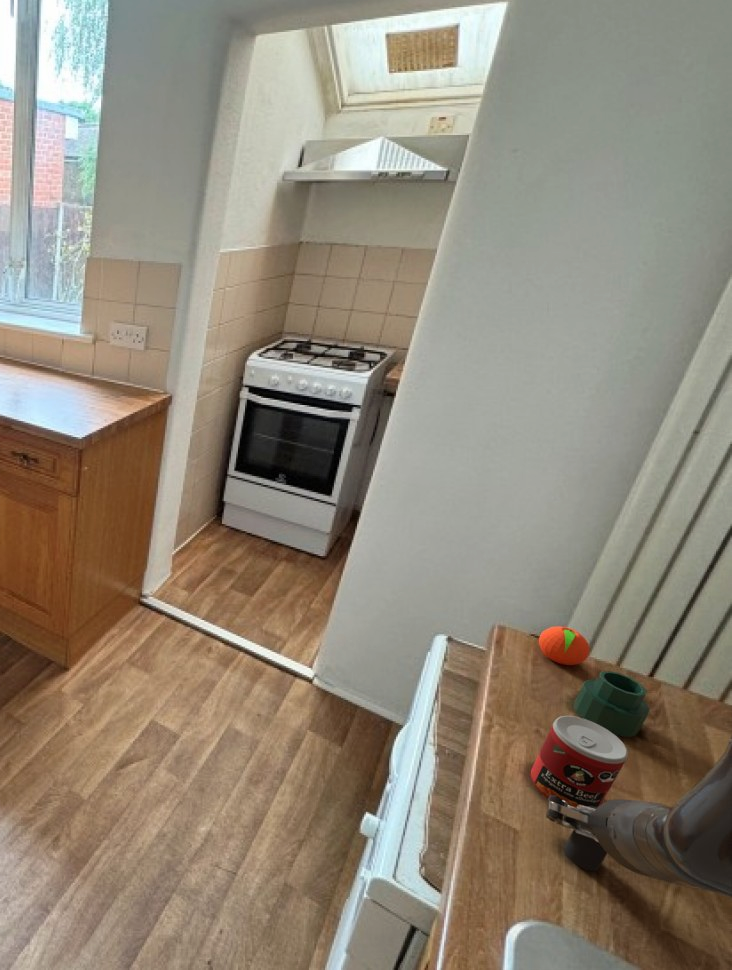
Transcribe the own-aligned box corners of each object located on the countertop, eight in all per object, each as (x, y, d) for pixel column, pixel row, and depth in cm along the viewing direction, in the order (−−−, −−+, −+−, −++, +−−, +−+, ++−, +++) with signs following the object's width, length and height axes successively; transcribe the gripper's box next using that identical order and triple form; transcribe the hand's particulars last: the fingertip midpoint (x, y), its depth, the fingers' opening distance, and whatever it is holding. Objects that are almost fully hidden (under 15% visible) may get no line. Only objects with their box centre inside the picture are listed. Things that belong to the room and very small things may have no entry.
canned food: (526, 792, 89) (552, 737, 84) (531, 759, 94) (556, 706, 90) (597, 828, 84) (629, 771, 79) (598, 791, 89) (628, 736, 85)
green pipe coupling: (639, 722, 101) (659, 685, 98) (633, 746, 96) (654, 709, 93) (577, 694, 106) (594, 659, 103) (568, 716, 102) (586, 679, 99)
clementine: (581, 682, 109) (596, 651, 107) (531, 663, 114) (545, 633, 111) (581, 659, 115) (596, 629, 112) (534, 642, 119) (547, 613, 116)
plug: (599, 862, 79) (623, 820, 76) (594, 878, 77) (619, 836, 74) (565, 842, 82) (587, 801, 79) (560, 857, 80) (582, 816, 77)
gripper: (754, 840, 63) (665, 826, 77) (572, 773, 70) (521, 771, 84) (752, 918, 61) (662, 890, 75) (565, 841, 68) (514, 828, 82)
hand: (588, 827), depth 79 cm, fingers open, 5 cm apart
